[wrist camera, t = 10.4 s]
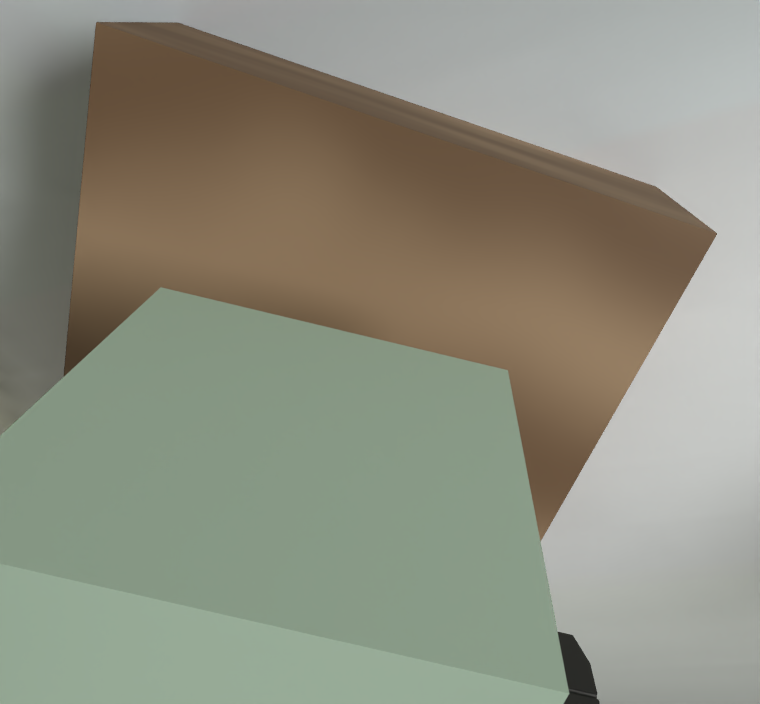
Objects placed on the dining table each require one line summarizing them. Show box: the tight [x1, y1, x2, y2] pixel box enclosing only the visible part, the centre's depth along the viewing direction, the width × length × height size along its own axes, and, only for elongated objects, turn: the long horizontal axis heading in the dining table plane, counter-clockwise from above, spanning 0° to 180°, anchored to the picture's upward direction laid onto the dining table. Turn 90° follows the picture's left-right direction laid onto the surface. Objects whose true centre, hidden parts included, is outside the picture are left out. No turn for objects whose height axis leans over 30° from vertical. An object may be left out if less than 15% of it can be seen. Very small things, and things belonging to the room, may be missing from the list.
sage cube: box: [0, 287, 569, 704], centre depth 11 cm, size 7×7×7 cm
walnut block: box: [64, 22, 717, 541], centre depth 19 cm, size 14×14×5 cm
